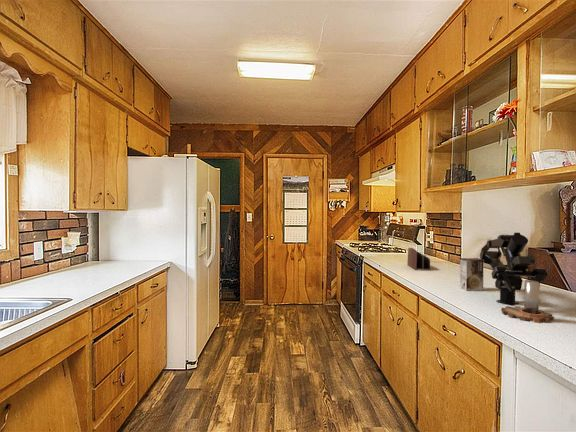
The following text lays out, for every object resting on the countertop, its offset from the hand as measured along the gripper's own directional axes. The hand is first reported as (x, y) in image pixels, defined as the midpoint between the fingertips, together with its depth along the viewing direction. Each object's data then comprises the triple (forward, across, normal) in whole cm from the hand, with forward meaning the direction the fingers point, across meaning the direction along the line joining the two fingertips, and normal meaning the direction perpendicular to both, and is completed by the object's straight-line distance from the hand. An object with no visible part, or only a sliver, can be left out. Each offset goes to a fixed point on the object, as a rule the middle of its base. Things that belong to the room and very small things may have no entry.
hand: (524, 291), depth 132 cm
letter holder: (-61, -27, +79) cm, 104 cm away
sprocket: (+8, 0, +5) cm, 9 cm away
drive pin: (+9, 0, +1) cm, 9 cm away
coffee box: (-20, -9, +35) cm, 41 cm away
